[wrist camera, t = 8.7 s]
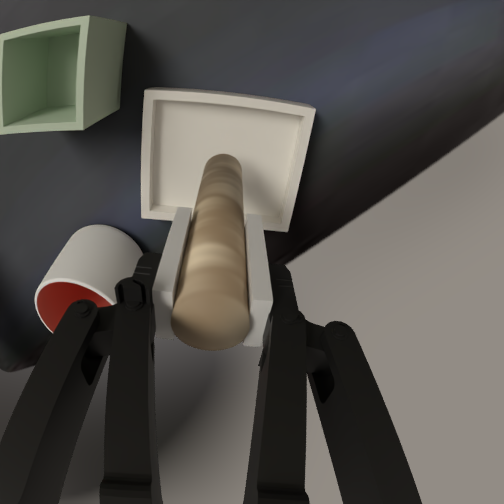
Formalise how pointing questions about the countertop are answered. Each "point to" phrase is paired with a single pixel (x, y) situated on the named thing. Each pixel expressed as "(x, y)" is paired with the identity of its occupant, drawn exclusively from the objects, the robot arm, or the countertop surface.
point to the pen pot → (60, 74)
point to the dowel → (214, 263)
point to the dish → (222, 149)
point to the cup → (86, 271)
